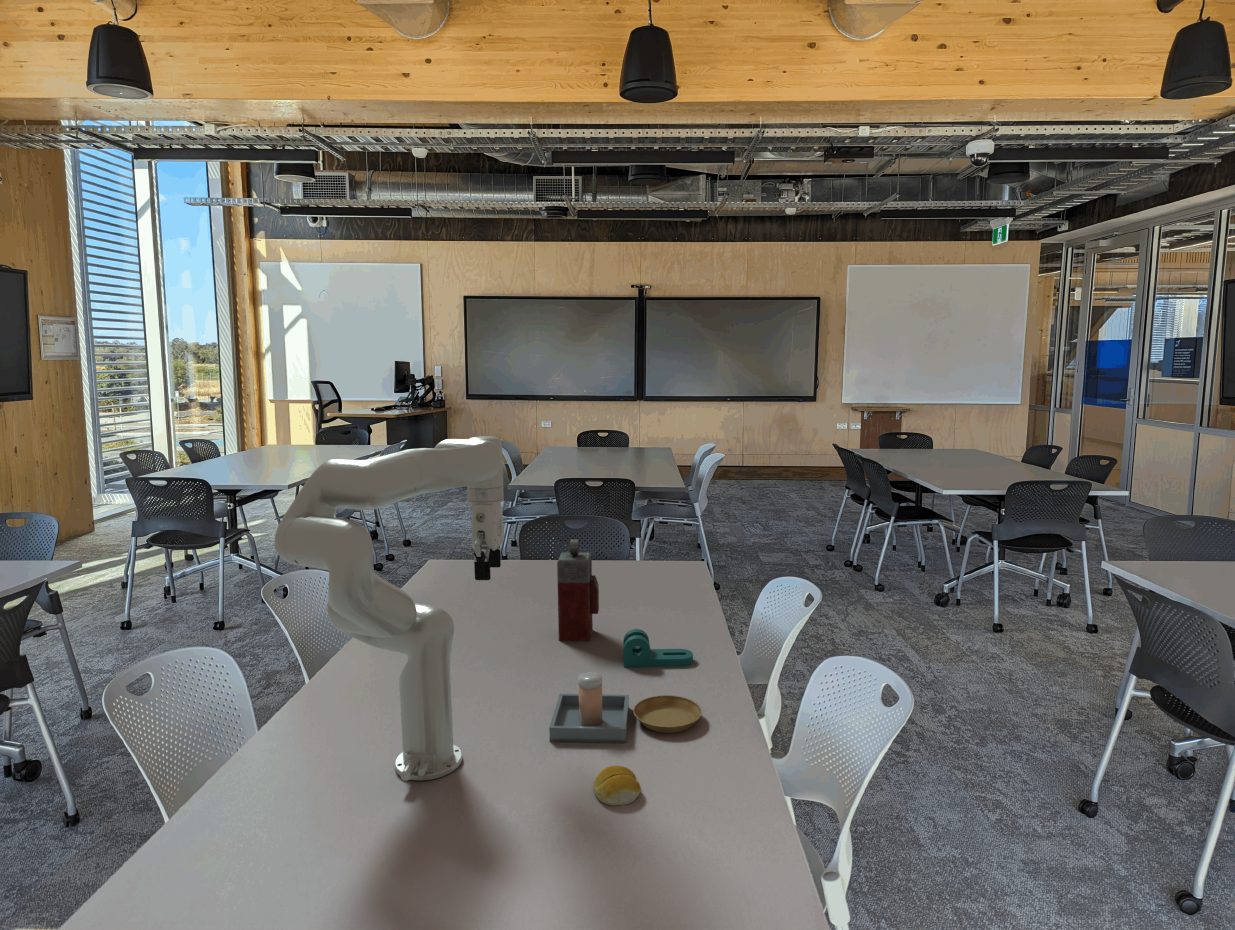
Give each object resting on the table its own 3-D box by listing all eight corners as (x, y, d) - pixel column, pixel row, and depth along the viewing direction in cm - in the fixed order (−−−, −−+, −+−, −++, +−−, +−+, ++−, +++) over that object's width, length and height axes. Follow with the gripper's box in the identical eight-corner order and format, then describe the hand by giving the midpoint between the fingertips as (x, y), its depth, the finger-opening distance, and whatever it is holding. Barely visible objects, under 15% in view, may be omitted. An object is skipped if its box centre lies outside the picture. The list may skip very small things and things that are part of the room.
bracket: (623, 668, 185) (623, 638, 184) (623, 657, 192) (623, 629, 191) (694, 667, 185) (694, 637, 184) (691, 656, 192) (691, 628, 191)
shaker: (601, 727, 153) (600, 682, 151) (577, 726, 153) (576, 681, 152) (603, 716, 158) (603, 672, 156) (580, 715, 158) (579, 671, 157)
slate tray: (625, 742, 147) (625, 729, 147) (549, 741, 148) (549, 727, 148) (628, 707, 163) (628, 694, 162) (559, 706, 164) (559, 693, 163)
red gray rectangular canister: (598, 641, 203) (597, 543, 199) (558, 640, 203) (556, 543, 200) (600, 629, 212) (599, 536, 208) (562, 629, 212) (560, 536, 208)
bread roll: (631, 775, 136) (631, 755, 135) (644, 803, 127) (644, 782, 127) (588, 781, 134) (588, 761, 133) (598, 810, 125) (598, 788, 125)
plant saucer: (644, 742, 148) (644, 730, 148) (625, 710, 162) (625, 699, 162) (711, 733, 151) (712, 721, 151) (688, 702, 166) (688, 691, 165)
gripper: (493, 502, 144) (496, 585, 147) (511, 488, 162) (513, 562, 164) (456, 502, 145) (460, 585, 147) (478, 488, 162) (480, 562, 164)
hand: (488, 573), depth 155 cm, fingers open, 9 cm apart
